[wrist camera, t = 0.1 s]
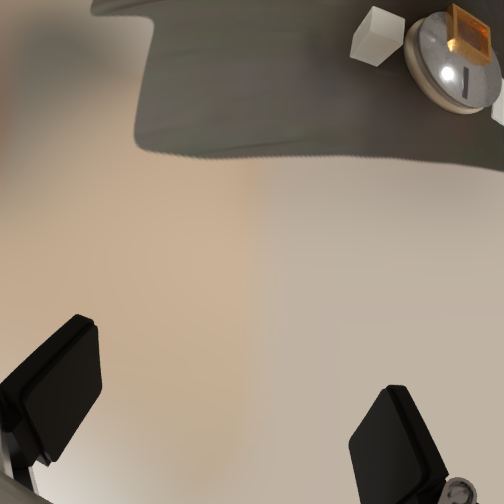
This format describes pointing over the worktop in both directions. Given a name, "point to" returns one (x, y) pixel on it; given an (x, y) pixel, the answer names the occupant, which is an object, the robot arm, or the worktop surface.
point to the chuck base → (422, 81)
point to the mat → (499, 107)
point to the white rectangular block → (377, 37)
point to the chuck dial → (458, 58)
